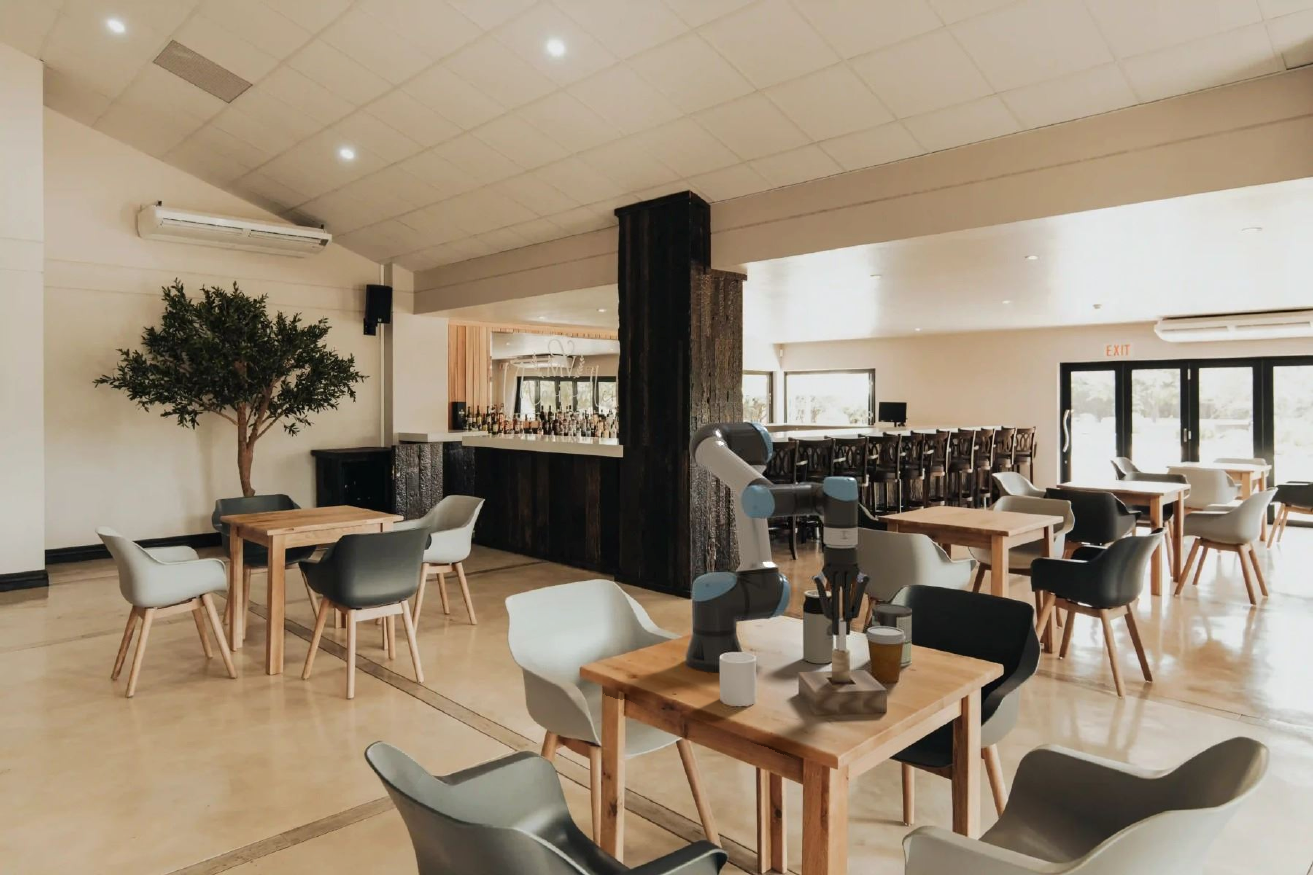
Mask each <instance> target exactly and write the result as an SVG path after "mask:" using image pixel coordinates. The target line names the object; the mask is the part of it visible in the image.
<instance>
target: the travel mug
mask: <svg viewBox="0 0 1313 875" xmlns="http://www.w3.org/2000/svg"><path fill="white" fill-rule="evenodd" d="M826 594H827V599H828V603H829V607H830V611H831V591H827V590H826ZM803 595H804V598H805V600H804V602H803V604H802V643H803V644H802V646H803V647H802V650H803V651H802V653H803V654H802V658H803V660H804V661H806V662H807V661H808V662H807V663H811V664H816V665H819V664H820V665H823V664H824V665H825V664H829V663H832V649H834V648H835V647H834V640H835V639H834V638H835V635H834V634H833V633H832V620H831V619H827V618H826V617H825V616H824V614H823V610H822V606H821V602H820V598H819V594H818V590H817V589H812V590H806V591H804V592H803Z"/></svg>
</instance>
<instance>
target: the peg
mask: <svg viewBox="0 0 1313 875" xmlns="http://www.w3.org/2000/svg"><path fill="white" fill-rule="evenodd" d="M831 671H832V685H850V671H851V650H850V649H849V648H846V651H839V650H838V649H837V648H836V647H834V649H832V662H831Z"/></svg>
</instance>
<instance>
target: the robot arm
mask: <svg viewBox="0 0 1313 875" xmlns="http://www.w3.org/2000/svg"><path fill="white" fill-rule="evenodd" d="M772 440H773V439H772V437H771V434H770V432H769V430H767V428H766V427H765V426H764V425H763V424H762V423H759V422H750V421H740V422H739V421H737V422H733V421H731V422H710V423H706V424H704V425H702V426H700V427H699V428H697V429H696V431H695V432H694V433H693V435H692V436H691V438H690V441H689V455H690V457H691V459H692V461H693V462H694V464H696V465H697V466H698V467H699V468H701V469H702V470H704V471H709V472H711V474H713V475H714V476H715V477H716V478H718V479H719V480H720V481H721V482H722V483H723V484H725V485H726V487H728V488H729V489H730V490H731V491H732V498H733V500H732V501H733V507H734V508H733V509H734V517H735V526H736V536H737V542H738V543H737V544H738V545H737V546H738V552H739V553H738V554H739V562H740V564H739V566H738V567H737V568H736V570H735V573H733V572H731V571H730V572H729V571H721V572H719V571H715V572H710V573H709V572H708V573H705V574H703V575H700V576H698V577H697V578H695V580H694V581H693V583H692V588H691V589H692V590H691V591H692V592H691V604H692V605H691V609H692V610H691V612H692V613H691V614H692V617H691V618H692V620H691V621H692V622H691V623H692V633H691V634H692V635H691V638H690V641H689V643H688V648H687V650H686V654H685V663H686V665H687V667H689V666H691V667H692V668H691V667H690V668H691V669H694V670H697V669H698V670H697V671H702V672H703V671H704V672H711V673H712V672H715V673H716V672H717V673H718V672H719V673H720V655H722V654H725V653H730V652H743V651H742V648H741V643H740V641H739V638H738V635H737V627H738V626H737V625H738V624H737V622H746V621H747V622H748V621H755V620H756V621H757V620H770V619H771V618H778V617H780V616H781V615H783V614H784V613H785V612H786V610H787V609H788V608H789V607H788V606H789V604H790V598H791V588H790V583H789V581H788V578H787V576H786V575H785V574H783V573H781V572H779V566H778V565H777V564H776V563H775V562H773V559H772V550H771V541H770V535H769V526H768V525H769V524H768V519H769V518H780V517H782V518H783V517H801V516H820V517H823V543H824V544H825V546H824V547H823V566H822V569H821V572H820V573H819V574H817V575H813V576H812V577H811V580H812V582H813V583H814V584H815V586H816V590H818V594H819V598H820V602H821V606H822V610H823V614H824V616H825V617H826V618H827V619H831V620H832V633H833V634H834V636H835V648H837V649H838V650H839V651H846V649H847V636H849V635H850V634H851V623H852V621H853V620H854V619H858V618H859V617H860V611H861V607H862V602H863V599H864V594H865V590H866V586H867V585H868V584H869V582H870V579H871V578H870V577H869V576H868V575H867V574H864V573H862V572H861V570H860V569H861V568H860V567H859V565H858V564H859V557H858V556H859V549H858V546H857V545H858V542H859V541H858V539H859V538H858V537H859V536H858V535H859V534H858V530H859V529H858V523H859V522H858V520H859V519H858V518H859V516H858V514H859V511H858V508H859V493H858V482H857V480H856V478H854V477H851V476H826V477H825V478H824V480H823V483H819V482H814V481H802V482H799V483H784V484H783V483H782V484H781V483H780V484H775V483H773V482H772V481H770V480H769V479H768V478H766V477H765V476H764V475H763V473H764V471H765V470H766V469H767V463H769V462H770V460H771V459H772V456H773V455H772V452H773V449H774V448H773V441H772ZM825 579H826V581H827V582H828V584H829V585H830V592H831V611H830V607H829V603H828V599H827V594H826V591H827V590H826V587H825V585H824V583H825ZM855 580H856V581H857V582H856V585H855V590H854V594H853V599H851V597H852V596H851V595H852V594H851V593H852V585H853V584H854V582H855ZM840 592H841V594H840ZM841 595H842V596H841ZM840 596H841V598H840ZM840 599H841V607H842V608H841V609H842V610H841V609H840ZM840 610H841V611H842V612H841V611H840ZM840 612H841V613H842V615H841V616H842V617H841V616H840V614H841V613H840ZM840 617H841V618H840Z"/></svg>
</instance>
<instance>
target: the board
mask: <svg viewBox="0 0 1313 875" xmlns="http://www.w3.org/2000/svg"><path fill="white" fill-rule="evenodd" d="M797 675H798V676H797V677H798V695H799V696H800V698H801V699H802V700H803V701H804V703H805V704H806V705H807V706H808V708H809V709H810V710H811V712H812V713H813V715H815V716H833V715H834V716H835V715H858V714H859V715H862V714H882V713H883V712H887V713H888V696H887V695H888V693H887V692H888V690H887V689H886V687H884V686H883V685H882V684H881V682H878V681H876V680H875V679H874V678H873V677H872V674H870V673H869V672H868V671H867V670H866V669H856V670H854V669H853V670H851V669H850V685H832V670H831V671H830V670H828V671H823V670H822V671H801V672H798V674H797ZM881 712H882V713H881ZM883 714H884V713H883Z"/></svg>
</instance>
